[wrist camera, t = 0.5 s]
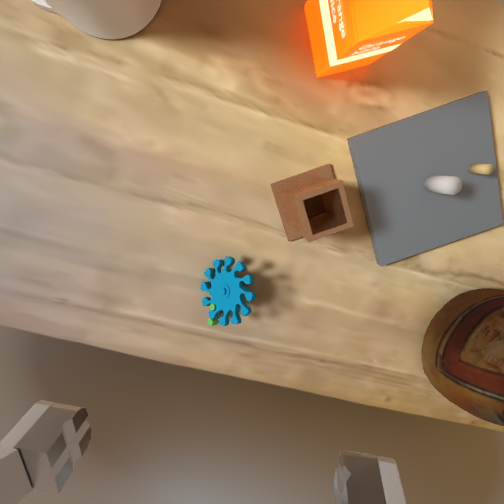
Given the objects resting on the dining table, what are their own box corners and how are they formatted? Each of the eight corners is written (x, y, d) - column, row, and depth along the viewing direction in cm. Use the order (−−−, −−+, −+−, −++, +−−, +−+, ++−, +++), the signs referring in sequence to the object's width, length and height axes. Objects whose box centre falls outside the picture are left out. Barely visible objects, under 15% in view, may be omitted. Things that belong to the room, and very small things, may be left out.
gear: (217, 243, 49) (261, 286, 44) (242, 245, 54) (285, 284, 49) (185, 301, 53) (223, 347, 47) (212, 298, 57) (249, 340, 52)
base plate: (347, 138, 48) (365, 135, 42) (479, 92, 48) (517, 82, 42) (377, 263, 54) (397, 277, 48) (495, 222, 54) (531, 230, 47)
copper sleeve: (270, 184, 49) (280, 189, 40) (328, 163, 49) (351, 164, 40) (288, 240, 52) (301, 256, 43) (343, 221, 51) (367, 233, 43)
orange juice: (315, 78, 46) (382, 20, 27) (302, 5, 43) (366, -117, 24) (371, 64, 46) (477, -5, 27) (361, -9, 44) (469, -143, 24)
